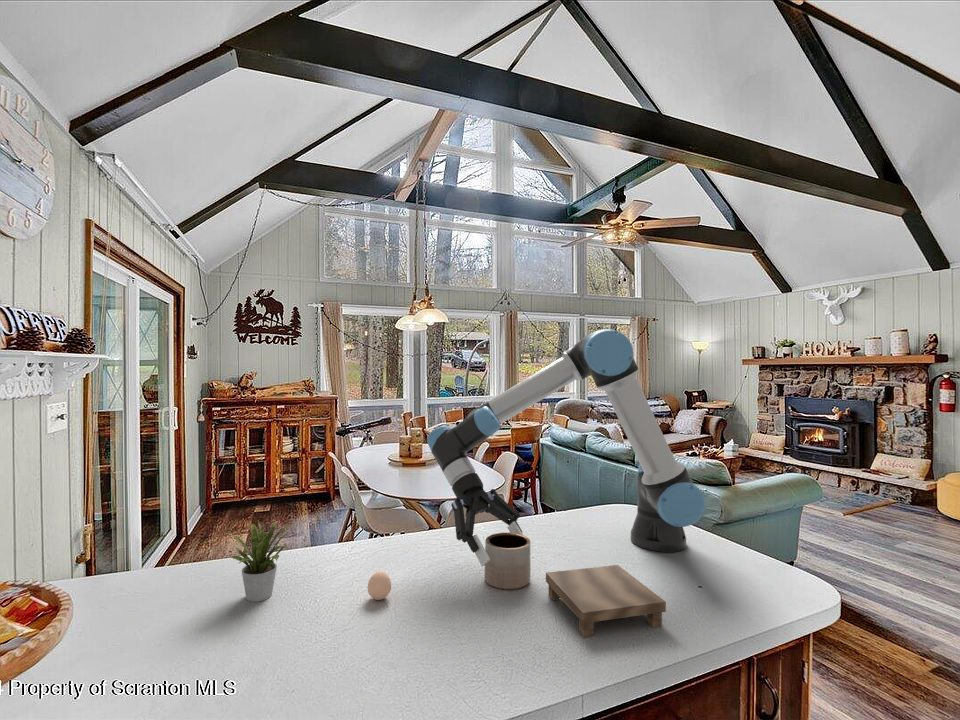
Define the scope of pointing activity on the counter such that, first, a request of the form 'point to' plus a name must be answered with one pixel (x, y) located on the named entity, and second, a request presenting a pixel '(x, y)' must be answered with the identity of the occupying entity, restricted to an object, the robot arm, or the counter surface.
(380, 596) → the egg
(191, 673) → the counter surface
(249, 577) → the house plant
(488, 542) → the planter
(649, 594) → the plant stand
